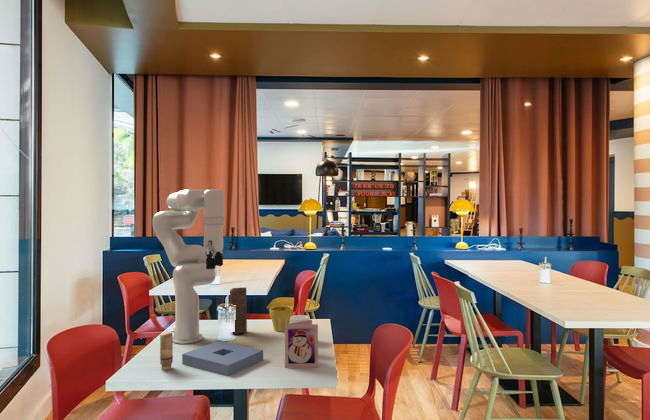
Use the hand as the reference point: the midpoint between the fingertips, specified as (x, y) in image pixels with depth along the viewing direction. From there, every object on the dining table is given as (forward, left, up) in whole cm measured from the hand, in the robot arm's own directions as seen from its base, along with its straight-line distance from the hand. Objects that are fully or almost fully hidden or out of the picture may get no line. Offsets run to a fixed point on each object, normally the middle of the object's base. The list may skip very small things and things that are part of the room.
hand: (214, 267), depth 168 cm
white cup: (+19, +29, -33) cm, 48 cm away
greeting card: (+35, +7, -33) cm, 49 cm away
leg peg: (-3, -20, -33) cm, 39 cm away
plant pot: (+2, +39, -33) cm, 51 cm away
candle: (-11, +25, -33) cm, 43 cm away
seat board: (+9, -5, -33) cm, 34 cm away
